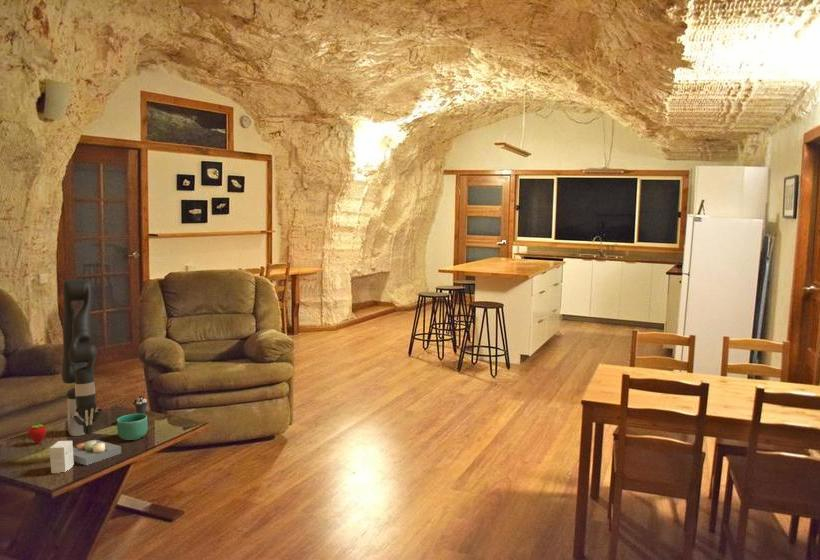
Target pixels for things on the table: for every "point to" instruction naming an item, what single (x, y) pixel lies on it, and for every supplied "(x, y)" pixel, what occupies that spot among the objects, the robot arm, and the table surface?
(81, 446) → the button terracotta
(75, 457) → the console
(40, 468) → the table surface
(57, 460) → the small box
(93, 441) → the button sage
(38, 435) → the strawberry
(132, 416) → the mug
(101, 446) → the button cream
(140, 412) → the sundae
